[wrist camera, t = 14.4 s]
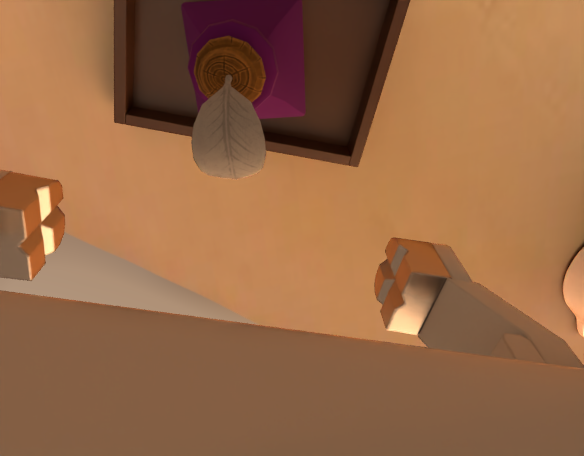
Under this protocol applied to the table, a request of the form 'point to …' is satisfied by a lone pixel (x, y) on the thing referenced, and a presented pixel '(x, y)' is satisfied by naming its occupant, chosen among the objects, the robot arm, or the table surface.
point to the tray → (317, 68)
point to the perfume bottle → (242, 78)
